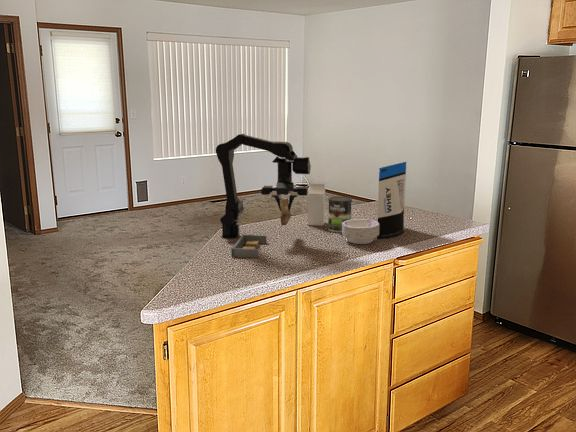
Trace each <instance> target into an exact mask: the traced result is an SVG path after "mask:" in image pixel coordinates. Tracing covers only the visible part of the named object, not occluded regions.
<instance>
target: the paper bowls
mask: <svg viewBox="0 0 576 432" xmlns="http://www.w3.org/2000/svg"><path fill="white" fill-rule="evenodd" d="M341 235H342V236H344V237H345V238H346V239H347V241H348V242H349V243H352V244H355V245H367V244H371V243H372V242H373V241H374V240H375V238H377V236H378V235H379V223H378V220H373V219H367V218H366V219H365V218H355V219H354V218H353V219H352V218H351V220H347V221H344V222H343V223H342V232H341Z"/></svg>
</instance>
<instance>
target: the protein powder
mask: <svg viewBox="0 0 576 432" xmlns="http://www.w3.org/2000/svg"><path fill="white" fill-rule="evenodd" d="M378 169H379V170H378V171H379V172H378V193H377V194H378V198H377V199H378V200H377V201H378V202H377V203H378V204H377V222H378V223H379V235H378V236H377V237H376V240H382V239H383V240H384V239H392V238H397V237H399V236H402V235H403V234H404V232H405V219H404V217H405V216H404V215H405V195H406V177H407V176H406V175H407V174H406V173H407V161H403V162H400V163H395V164H391V165H387V166H383V167H379V168H378Z"/></svg>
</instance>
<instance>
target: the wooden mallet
mask: <svg viewBox="0 0 576 432" xmlns="http://www.w3.org/2000/svg"><path fill="white" fill-rule="evenodd" d="M280 207H281V211H280V214H281V215H280V225H281V226H287V225H288V223H289V221H290V219H291V217H292V215H291V210H290V211H289V210H288V208H289V198H288V197H281V199H280Z"/></svg>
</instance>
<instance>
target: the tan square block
mask: <svg viewBox="0 0 576 432" xmlns="http://www.w3.org/2000/svg"><path fill="white" fill-rule="evenodd" d="M259 246H260V243H259V241H247V242H245V247H255V249H258V247H259Z"/></svg>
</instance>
